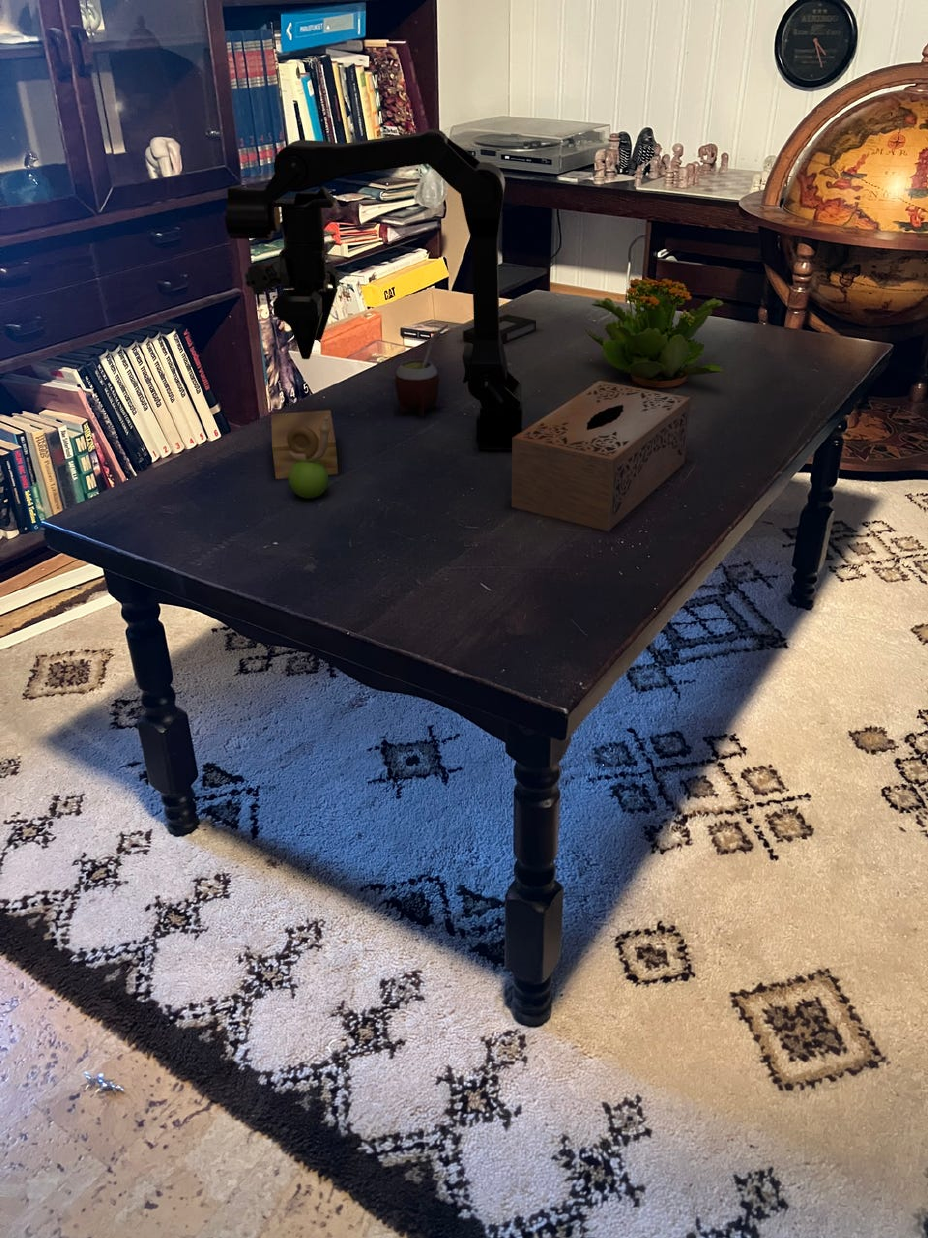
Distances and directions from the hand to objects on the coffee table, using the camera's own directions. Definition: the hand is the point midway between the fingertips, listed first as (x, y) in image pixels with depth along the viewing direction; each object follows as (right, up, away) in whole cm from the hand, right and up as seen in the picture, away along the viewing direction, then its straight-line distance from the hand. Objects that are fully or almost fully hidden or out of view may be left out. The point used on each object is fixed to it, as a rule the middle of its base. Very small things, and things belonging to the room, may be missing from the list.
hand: (312, 349), depth 156 cm
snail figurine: (+2, -23, -9) cm, 25 cm away
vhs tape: (+30, +16, +53) cm, 63 cm away
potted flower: (+57, +2, +29) cm, 64 cm away
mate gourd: (+16, -6, +18) cm, 25 cm away
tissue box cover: (+42, -21, -7) cm, 48 cm away
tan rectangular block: (-1, -16, +2) cm, 16 cm away
